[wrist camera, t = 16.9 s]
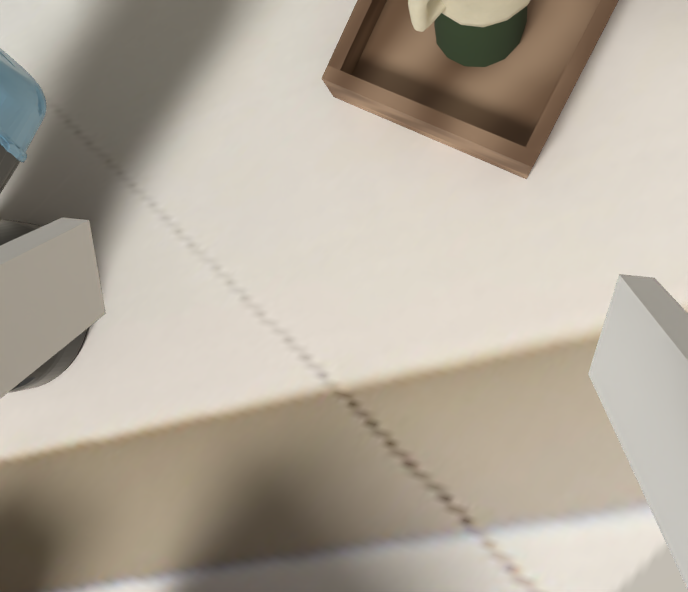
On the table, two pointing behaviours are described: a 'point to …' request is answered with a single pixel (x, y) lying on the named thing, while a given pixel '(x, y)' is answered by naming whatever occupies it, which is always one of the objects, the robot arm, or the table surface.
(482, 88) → the walnut tray
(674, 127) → the table surface
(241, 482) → the table surface
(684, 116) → the table surface
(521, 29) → the character mug
